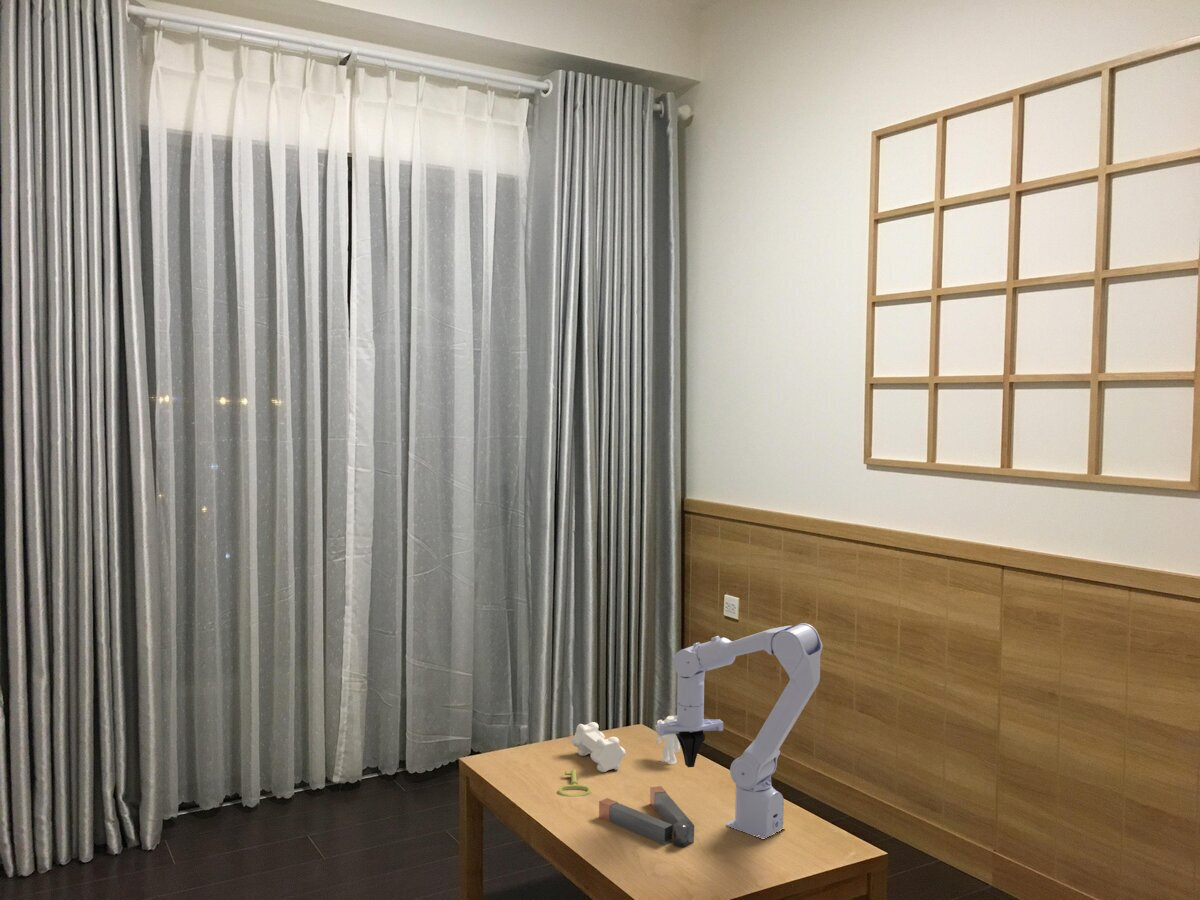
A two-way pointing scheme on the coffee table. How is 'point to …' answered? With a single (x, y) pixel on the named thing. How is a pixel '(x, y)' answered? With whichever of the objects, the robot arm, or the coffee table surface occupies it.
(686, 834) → the bar
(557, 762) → the coffee table surface
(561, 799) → the coffee table surface
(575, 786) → the key
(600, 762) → the bone shaped toy
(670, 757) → the flower shoulder figurine
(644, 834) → the tongs fixed arm
